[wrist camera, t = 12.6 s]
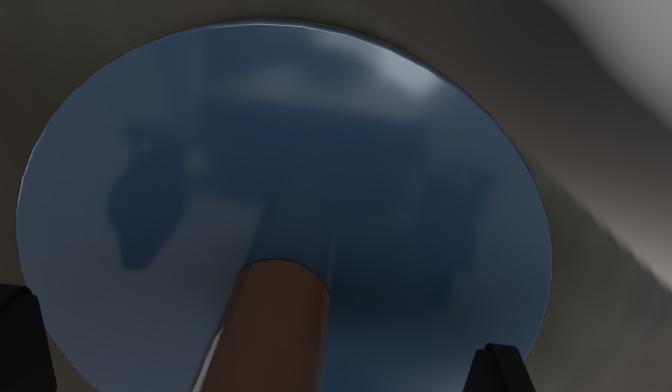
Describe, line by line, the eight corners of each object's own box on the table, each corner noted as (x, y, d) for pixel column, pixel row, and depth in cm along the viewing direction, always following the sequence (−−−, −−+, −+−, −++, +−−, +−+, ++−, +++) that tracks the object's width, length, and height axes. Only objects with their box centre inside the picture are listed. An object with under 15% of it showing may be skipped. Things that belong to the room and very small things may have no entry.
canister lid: (78, 408, 16) (-71, 641, 11) (-4, -23, 10) (-453, -10, 5) (469, 457, 16) (524, 714, 11) (617, 56, 10) (927, 163, 5)
